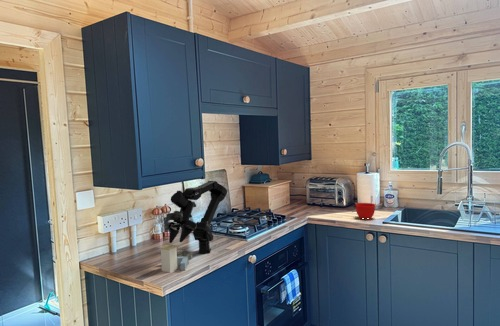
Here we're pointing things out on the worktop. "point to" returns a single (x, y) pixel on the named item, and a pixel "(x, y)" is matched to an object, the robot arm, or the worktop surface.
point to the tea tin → (169, 257)
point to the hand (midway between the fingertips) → (175, 242)
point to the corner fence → (183, 262)
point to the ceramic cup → (365, 210)
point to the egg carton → (184, 254)
